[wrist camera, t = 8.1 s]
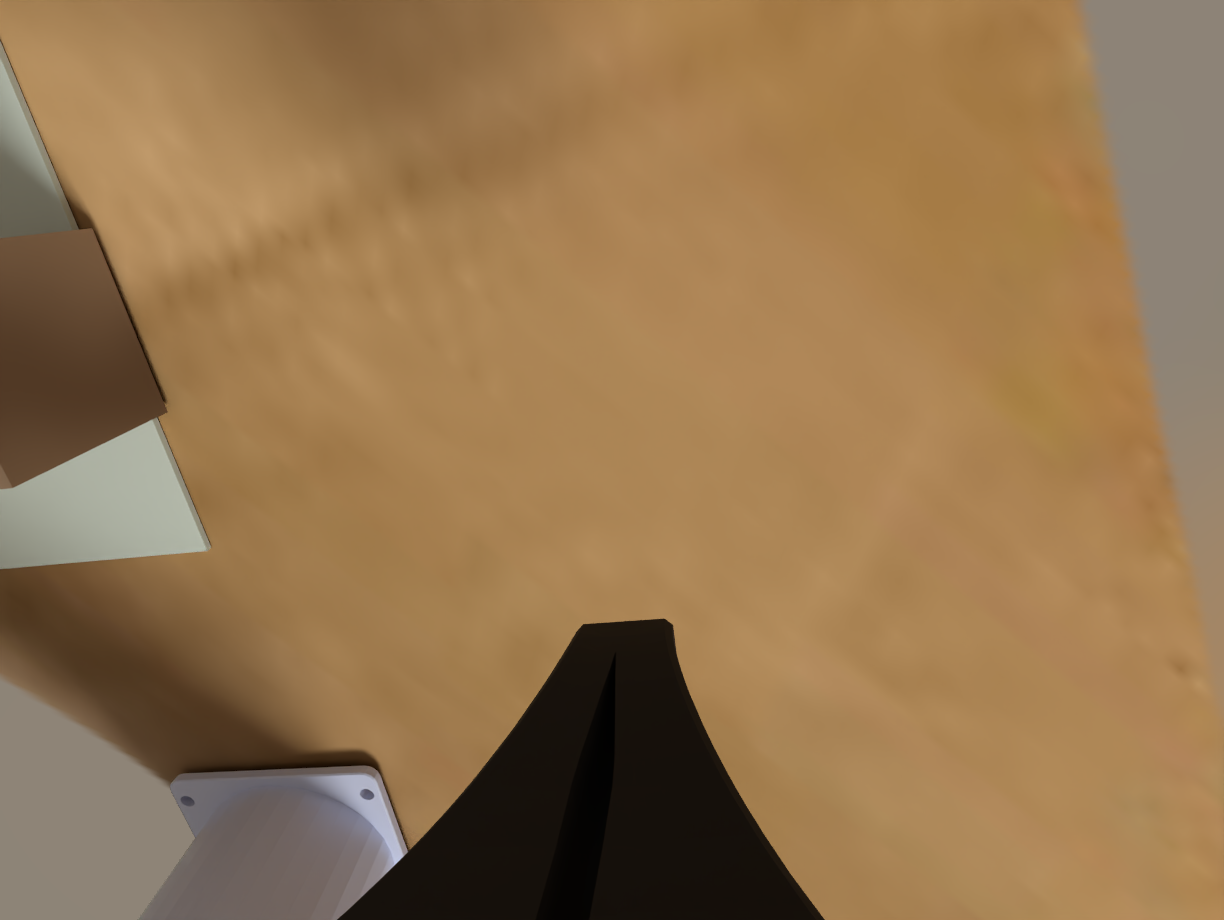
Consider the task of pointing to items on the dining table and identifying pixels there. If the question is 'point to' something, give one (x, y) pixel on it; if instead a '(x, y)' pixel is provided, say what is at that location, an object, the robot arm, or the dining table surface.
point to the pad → (108, 474)
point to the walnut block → (64, 355)
